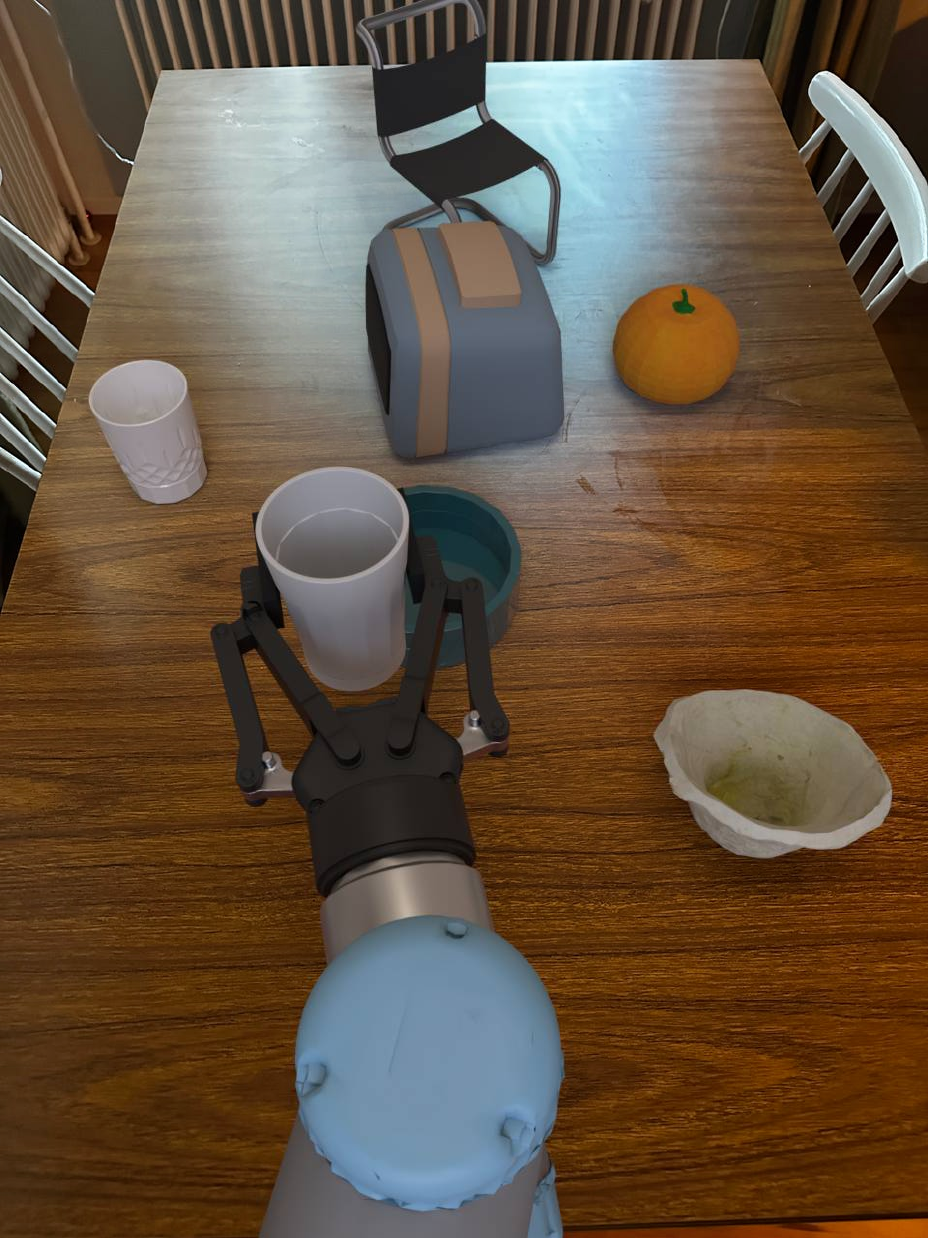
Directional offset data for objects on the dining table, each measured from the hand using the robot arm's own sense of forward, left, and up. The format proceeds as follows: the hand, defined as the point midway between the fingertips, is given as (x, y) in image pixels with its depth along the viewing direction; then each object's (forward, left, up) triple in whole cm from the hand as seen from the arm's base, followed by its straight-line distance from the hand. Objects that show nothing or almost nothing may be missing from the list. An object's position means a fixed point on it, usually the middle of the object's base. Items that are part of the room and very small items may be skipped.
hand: (331, 515), depth 56 cm
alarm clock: (+15, +30, -20) cm, 39 cm away
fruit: (+35, +28, -20) cm, 49 cm away
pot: (+7, +8, -20) cm, 22 cm away
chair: (+20, +52, -20) cm, 59 cm away
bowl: (+25, -15, -20) cm, 36 cm away
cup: (0, -5, -7) cm, 9 cm away
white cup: (-13, +26, -20) cm, 35 cm away
